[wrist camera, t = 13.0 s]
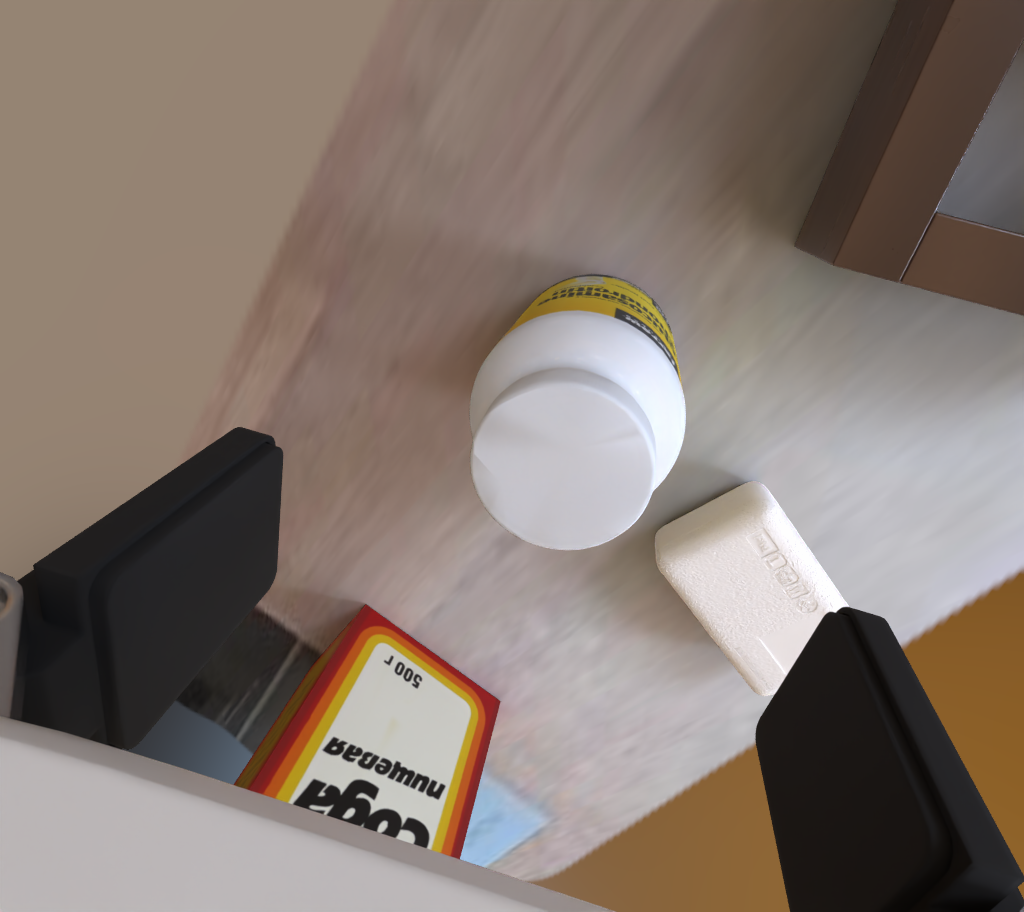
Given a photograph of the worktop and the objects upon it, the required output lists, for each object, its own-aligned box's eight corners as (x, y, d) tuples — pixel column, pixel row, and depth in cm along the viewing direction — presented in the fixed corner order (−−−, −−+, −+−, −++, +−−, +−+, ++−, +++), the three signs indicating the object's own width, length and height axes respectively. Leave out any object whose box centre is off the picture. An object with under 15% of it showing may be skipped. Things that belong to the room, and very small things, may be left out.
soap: (647, 527, 29) (649, 565, 26) (757, 469, 26) (771, 503, 24) (748, 660, 31) (759, 707, 28) (858, 616, 28) (880, 662, 26)
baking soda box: (311, 666, 37) (103, 982, 22) (365, 604, 34) (166, 921, 19) (437, 754, 38) (316, 1108, 23) (500, 701, 35) (406, 1067, 21)
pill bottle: (707, 345, 25) (758, 471, 14) (597, 451, 27) (573, 621, 17) (586, 234, 24) (547, 283, 13) (486, 355, 26) (388, 474, 16)
